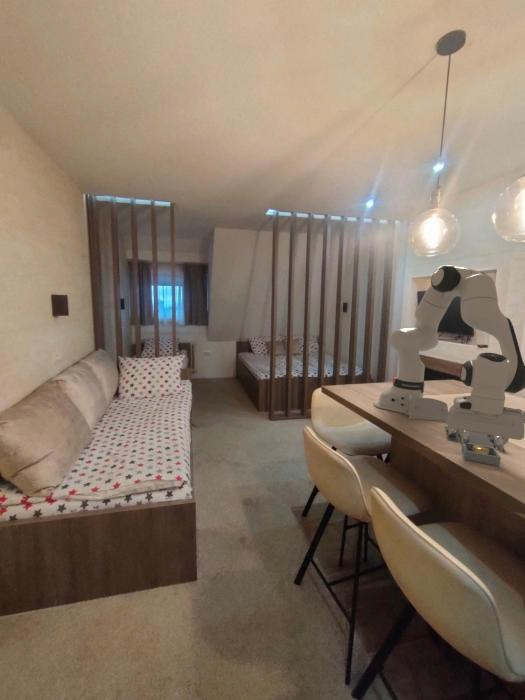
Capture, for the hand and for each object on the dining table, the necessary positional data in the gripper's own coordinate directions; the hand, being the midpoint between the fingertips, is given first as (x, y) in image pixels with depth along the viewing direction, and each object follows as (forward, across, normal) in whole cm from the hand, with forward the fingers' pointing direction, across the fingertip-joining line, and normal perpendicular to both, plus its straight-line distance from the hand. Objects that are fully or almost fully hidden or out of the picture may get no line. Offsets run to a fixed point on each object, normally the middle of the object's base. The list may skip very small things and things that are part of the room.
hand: (480, 446), depth 100 cm
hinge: (+4, +14, -35) cm, 38 cm away
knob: (+4, 0, 0) cm, 4 cm away
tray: (+4, 0, 0) cm, 4 cm away
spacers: (+4, 0, -18) cm, 18 cm away
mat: (+4, 0, -18) cm, 18 cm away
